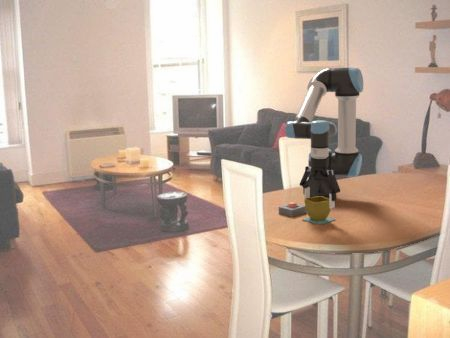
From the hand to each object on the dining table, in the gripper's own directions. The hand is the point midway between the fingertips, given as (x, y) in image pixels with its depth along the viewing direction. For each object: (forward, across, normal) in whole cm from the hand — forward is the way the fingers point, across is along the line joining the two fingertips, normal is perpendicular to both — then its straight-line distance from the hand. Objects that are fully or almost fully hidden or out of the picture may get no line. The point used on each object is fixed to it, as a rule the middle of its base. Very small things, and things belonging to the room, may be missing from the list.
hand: (319, 205), depth 231 cm
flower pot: (+6, 0, -1) cm, 7 cm away
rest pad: (+7, 0, 0) cm, 7 cm away
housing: (+7, -16, 0) cm, 17 cm away
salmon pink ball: (+6, -16, 0) cm, 17 cm away
